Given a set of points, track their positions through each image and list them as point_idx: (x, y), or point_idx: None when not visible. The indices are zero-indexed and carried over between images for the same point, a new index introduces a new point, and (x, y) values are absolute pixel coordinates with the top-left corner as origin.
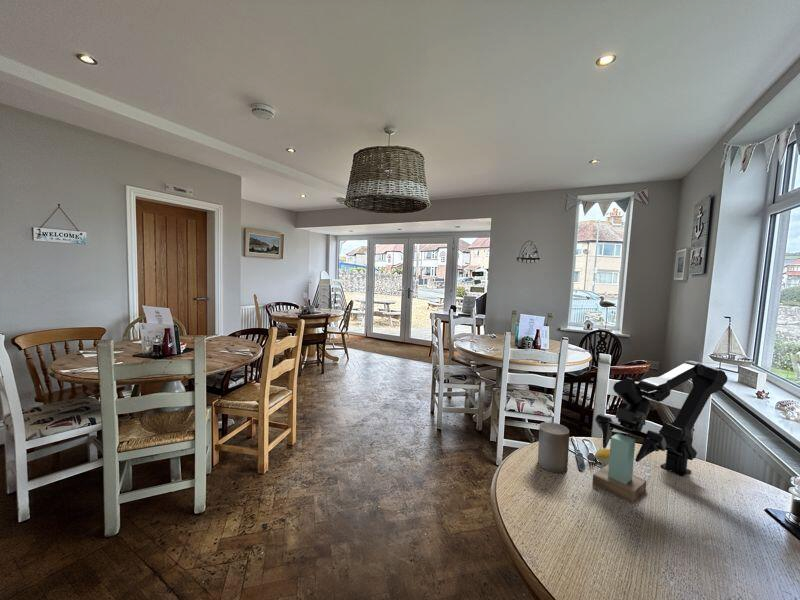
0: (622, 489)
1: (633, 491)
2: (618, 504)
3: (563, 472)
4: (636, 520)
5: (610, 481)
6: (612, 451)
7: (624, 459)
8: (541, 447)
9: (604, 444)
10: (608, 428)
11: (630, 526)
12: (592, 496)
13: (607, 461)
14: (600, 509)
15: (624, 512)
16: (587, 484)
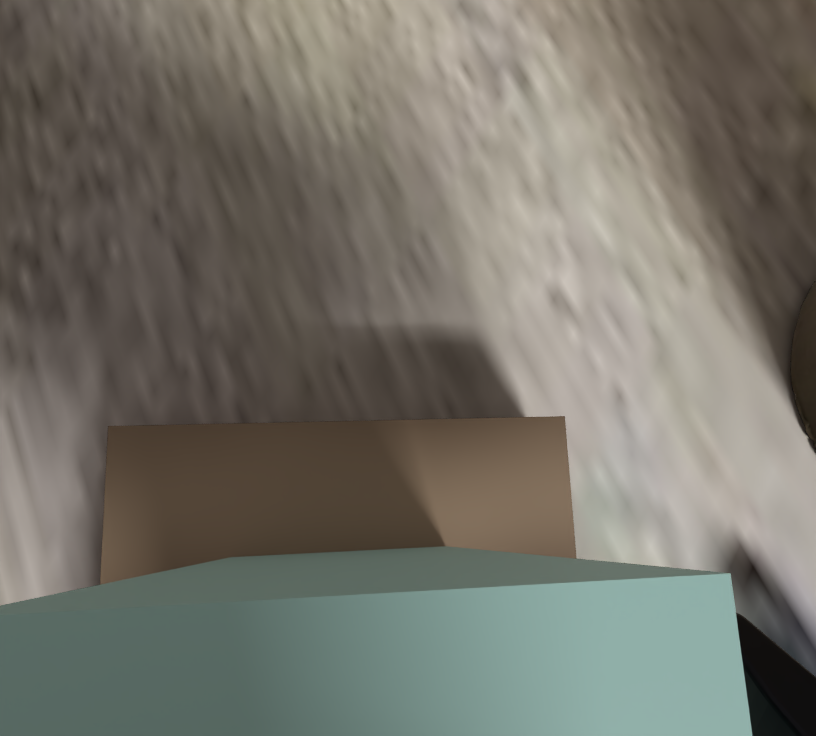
0: (219, 424)
1: (109, 476)
2: (212, 299)
3: (793, 342)
4: (16, 199)
5: (372, 451)
6: (489, 560)
7: (217, 570)
8: None
9: (754, 658)
10: None
11: (26, 76)
12: (416, 212)
13: None
14: (281, 88)
15: (129, 224)
16: (548, 367)
